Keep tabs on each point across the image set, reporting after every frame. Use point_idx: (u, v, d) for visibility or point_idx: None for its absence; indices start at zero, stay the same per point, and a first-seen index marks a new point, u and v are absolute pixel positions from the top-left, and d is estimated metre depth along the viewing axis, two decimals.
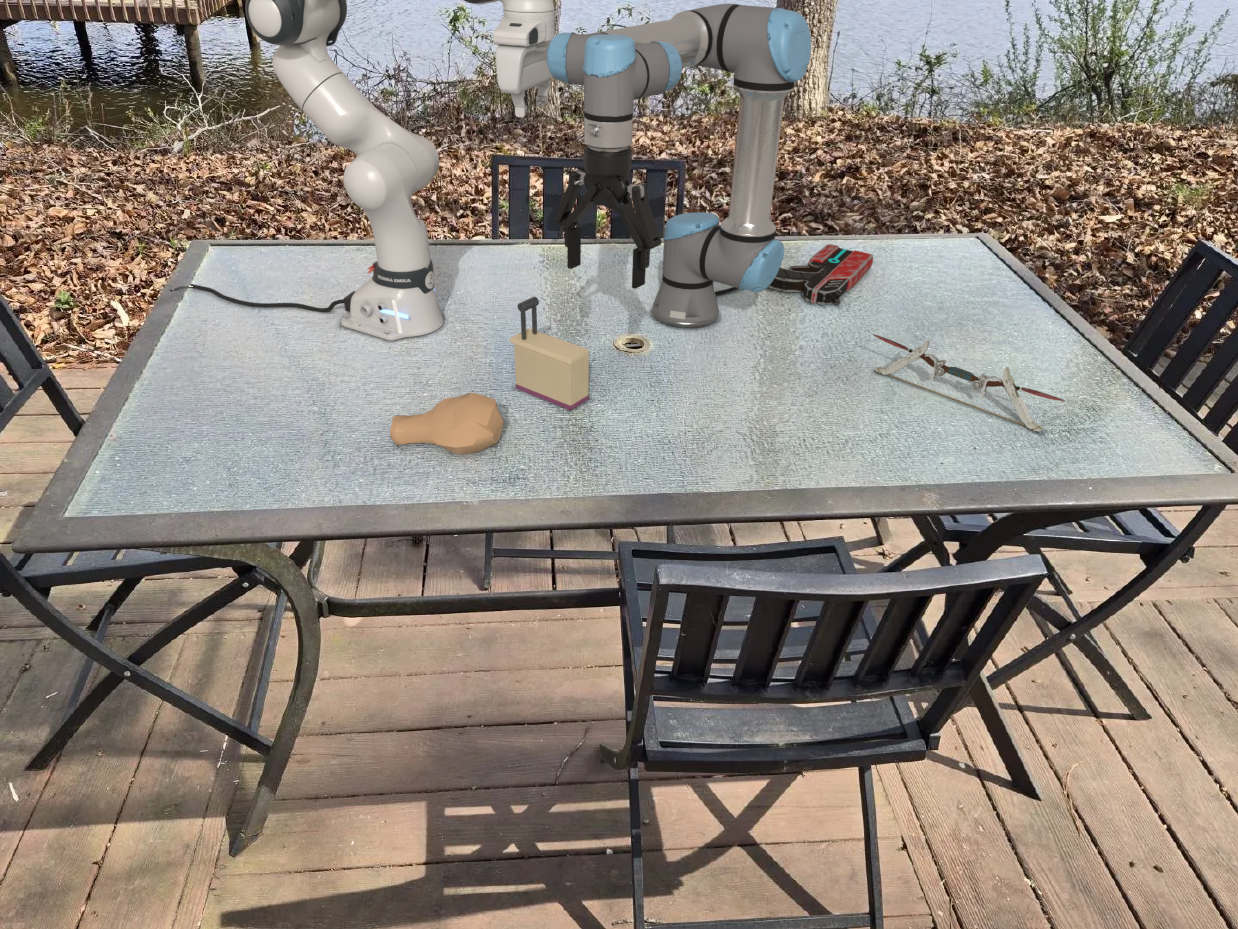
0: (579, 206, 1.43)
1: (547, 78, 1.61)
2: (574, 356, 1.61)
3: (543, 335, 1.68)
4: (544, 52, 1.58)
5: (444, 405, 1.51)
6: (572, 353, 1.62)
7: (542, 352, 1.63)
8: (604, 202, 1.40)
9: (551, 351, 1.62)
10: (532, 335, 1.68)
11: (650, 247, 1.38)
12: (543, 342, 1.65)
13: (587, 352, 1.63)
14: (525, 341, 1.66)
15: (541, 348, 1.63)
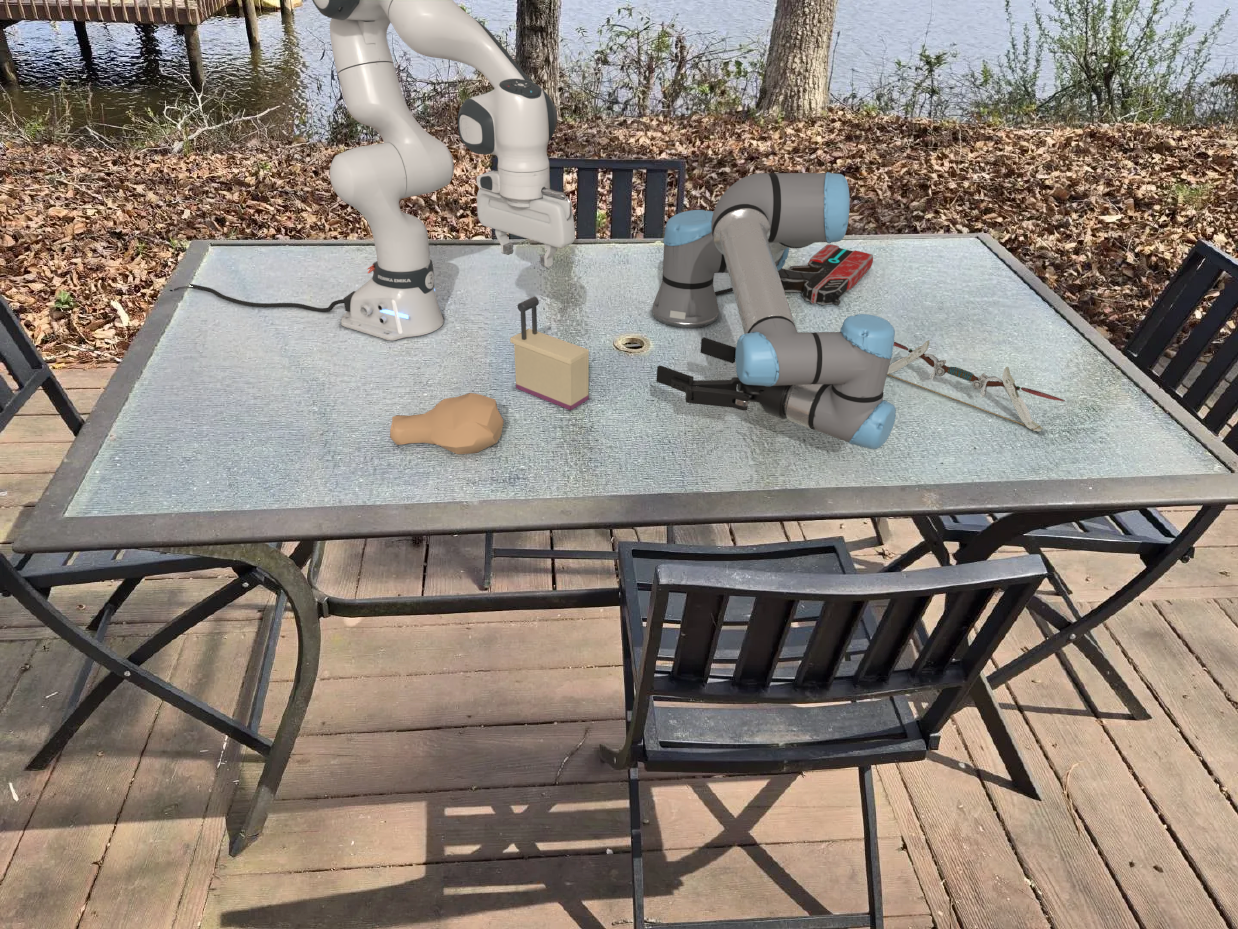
0: None
1: (533, 238, 1.53)
2: (574, 356, 1.61)
3: (543, 335, 1.68)
4: (531, 212, 1.51)
5: (444, 405, 1.51)
6: (572, 353, 1.62)
7: (542, 352, 1.63)
8: None
9: (551, 351, 1.62)
10: (532, 335, 1.68)
11: None
12: (543, 342, 1.65)
13: (587, 352, 1.63)
14: (525, 341, 1.66)
15: (541, 348, 1.63)
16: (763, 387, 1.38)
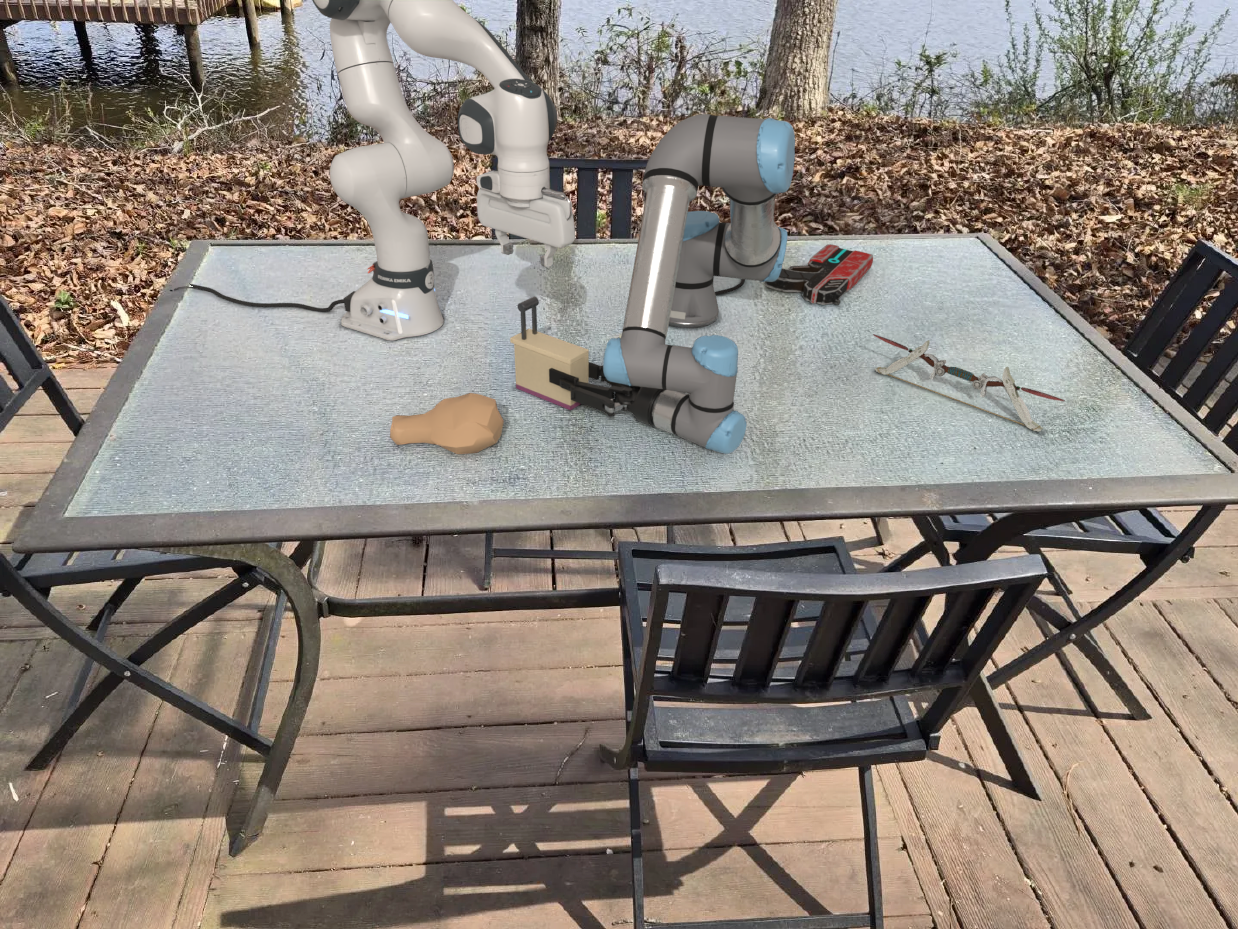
0: None
1: (533, 238, 1.53)
2: (574, 356, 1.61)
3: (543, 335, 1.68)
4: (531, 212, 1.51)
5: (444, 405, 1.51)
6: (572, 353, 1.62)
7: (542, 352, 1.63)
8: None
9: (551, 351, 1.62)
10: (532, 335, 1.68)
11: None
12: (543, 342, 1.65)
13: (587, 352, 1.63)
14: (525, 341, 1.66)
15: (541, 348, 1.63)
16: (635, 398, 1.55)
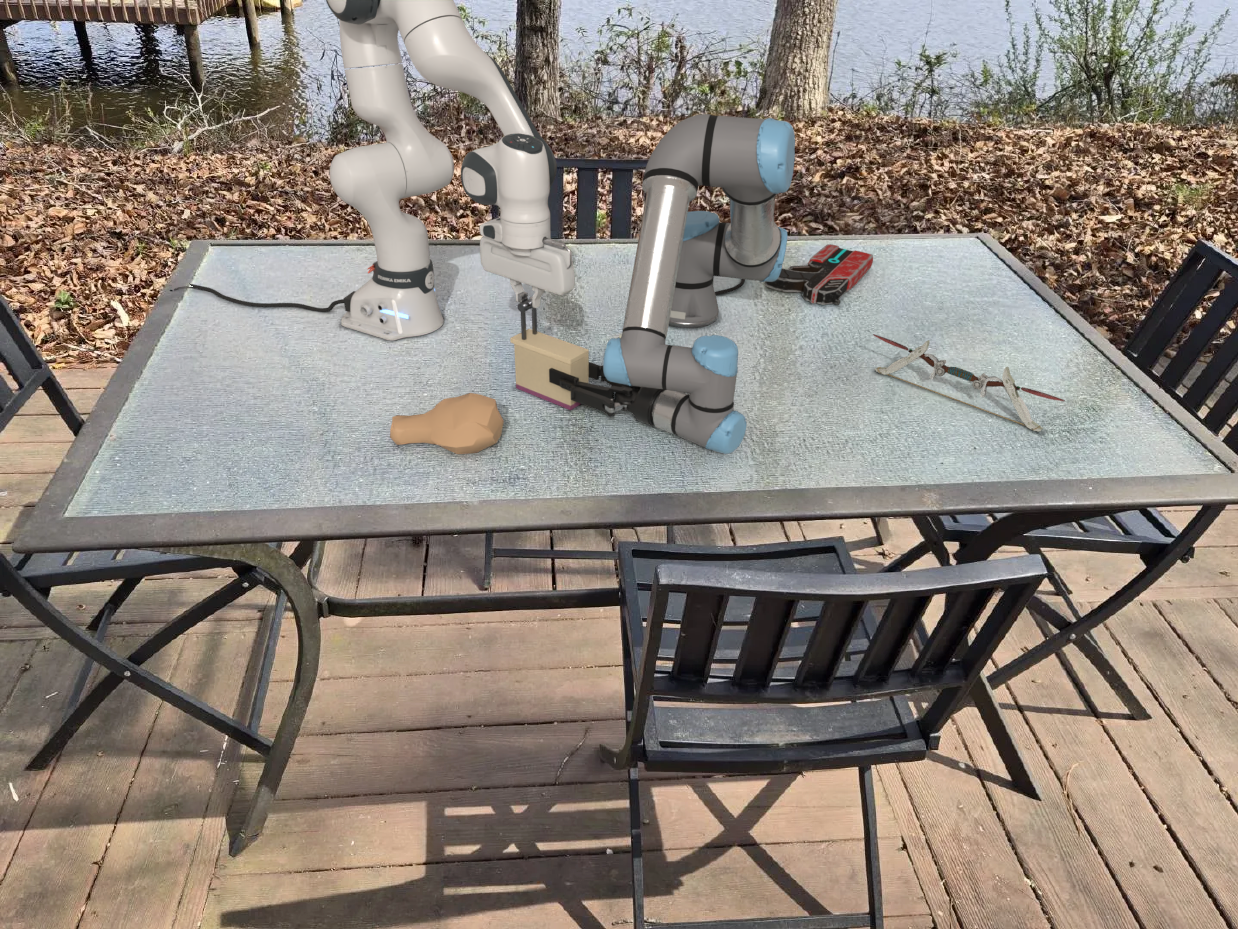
0: None
1: (535, 285, 1.58)
2: (574, 356, 1.61)
3: (543, 335, 1.68)
4: (533, 260, 1.56)
5: (444, 405, 1.51)
6: (572, 353, 1.62)
7: (542, 352, 1.63)
8: None
9: (551, 351, 1.62)
10: (532, 335, 1.68)
11: None
12: (543, 342, 1.65)
13: (587, 352, 1.63)
14: (525, 341, 1.66)
15: (541, 348, 1.63)
16: (635, 398, 1.55)
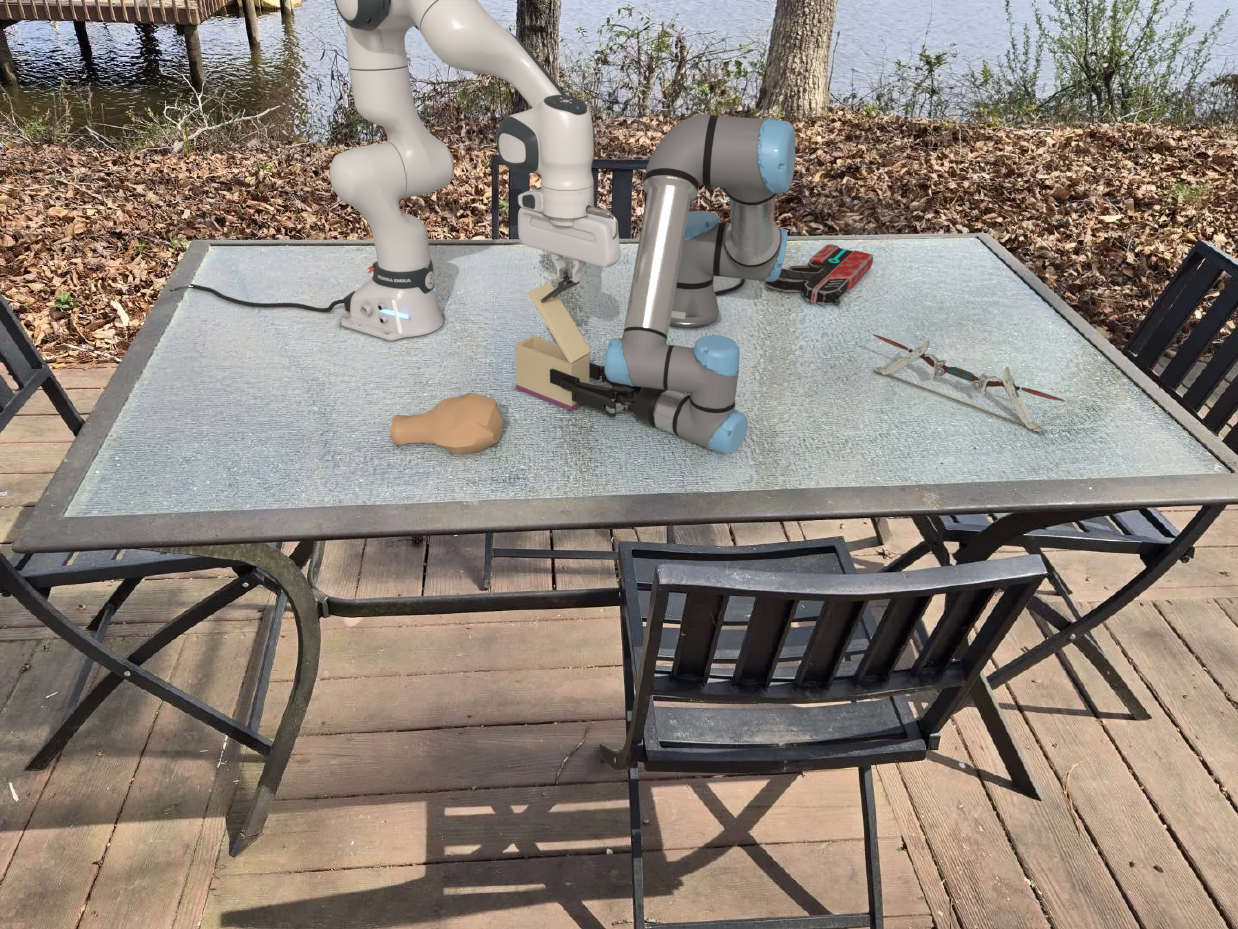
0: None
1: (577, 258, 1.49)
2: (577, 357, 1.61)
3: (559, 303, 1.62)
4: (575, 231, 1.47)
5: (444, 405, 1.51)
6: (576, 352, 1.61)
7: (552, 331, 1.59)
8: None
9: (560, 337, 1.59)
10: (550, 298, 1.60)
11: None
12: (557, 317, 1.60)
13: None
14: (542, 306, 1.59)
15: (553, 327, 1.59)
16: (636, 398, 1.55)
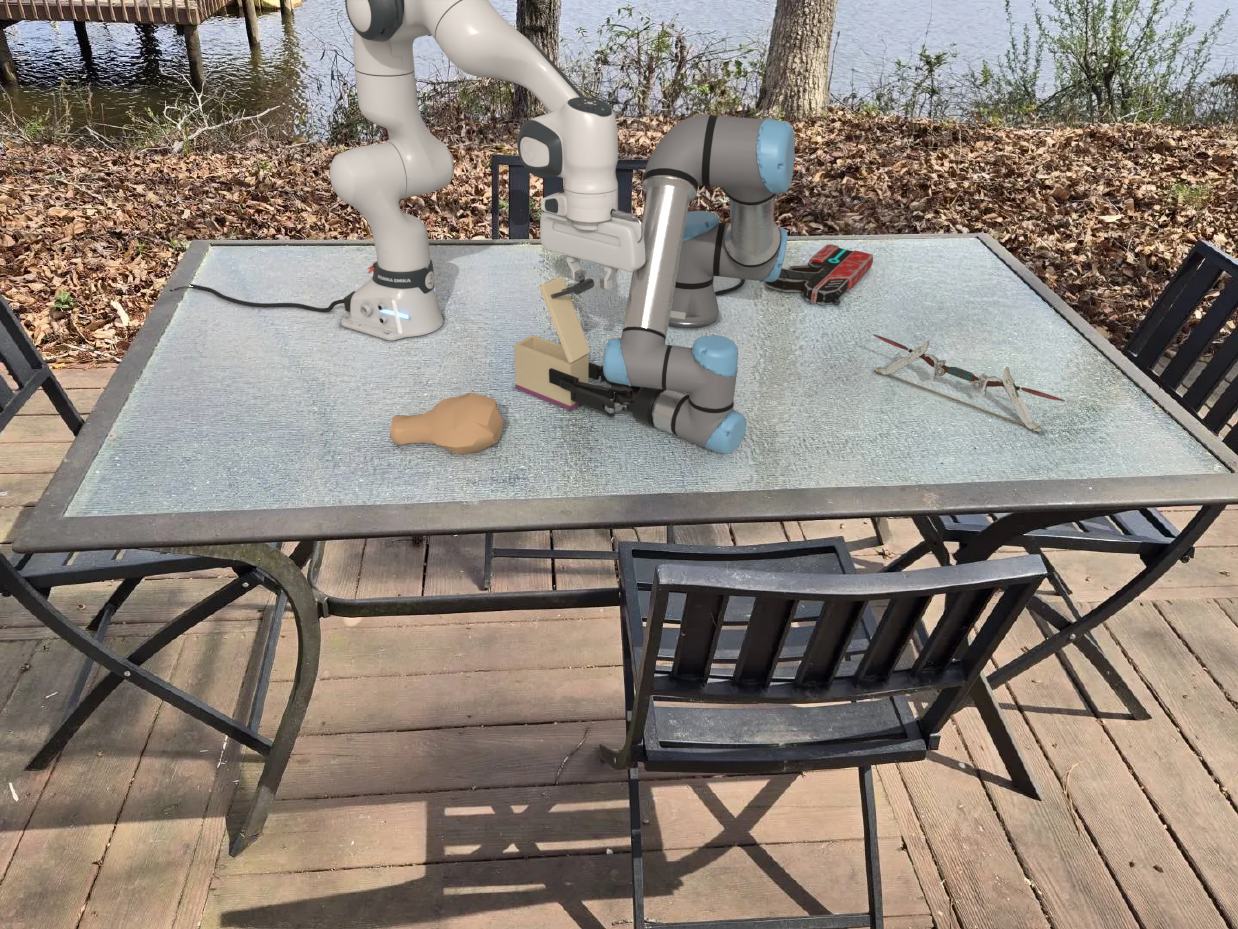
0: None
1: (601, 262, 1.46)
2: (577, 357, 1.61)
3: (568, 299, 1.60)
4: (599, 235, 1.45)
5: (444, 405, 1.51)
6: (577, 351, 1.61)
7: (556, 328, 1.58)
8: None
9: (564, 336, 1.59)
10: None
11: None
12: (564, 313, 1.59)
13: (587, 352, 1.63)
14: (551, 301, 1.57)
15: (559, 324, 1.58)
16: (635, 398, 1.55)
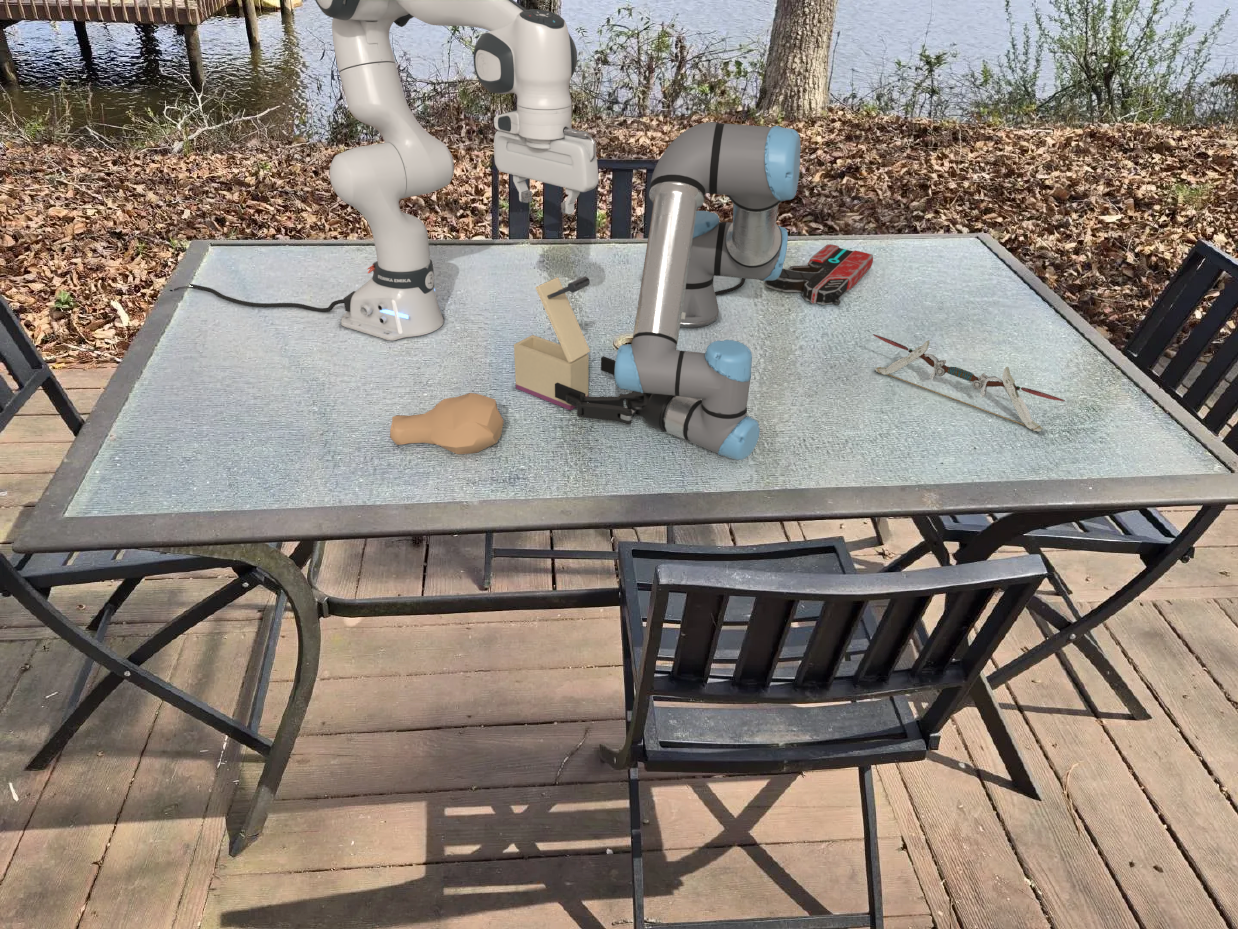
0: None
1: (554, 182, 1.45)
2: (576, 357, 1.61)
3: (565, 300, 1.60)
4: (552, 154, 1.43)
5: (444, 405, 1.51)
6: (576, 351, 1.61)
7: (555, 328, 1.58)
8: None
9: (562, 336, 1.59)
10: None
11: None
12: (561, 314, 1.59)
13: (587, 352, 1.63)
14: (548, 302, 1.57)
15: (556, 324, 1.58)
16: (646, 403, 1.53)
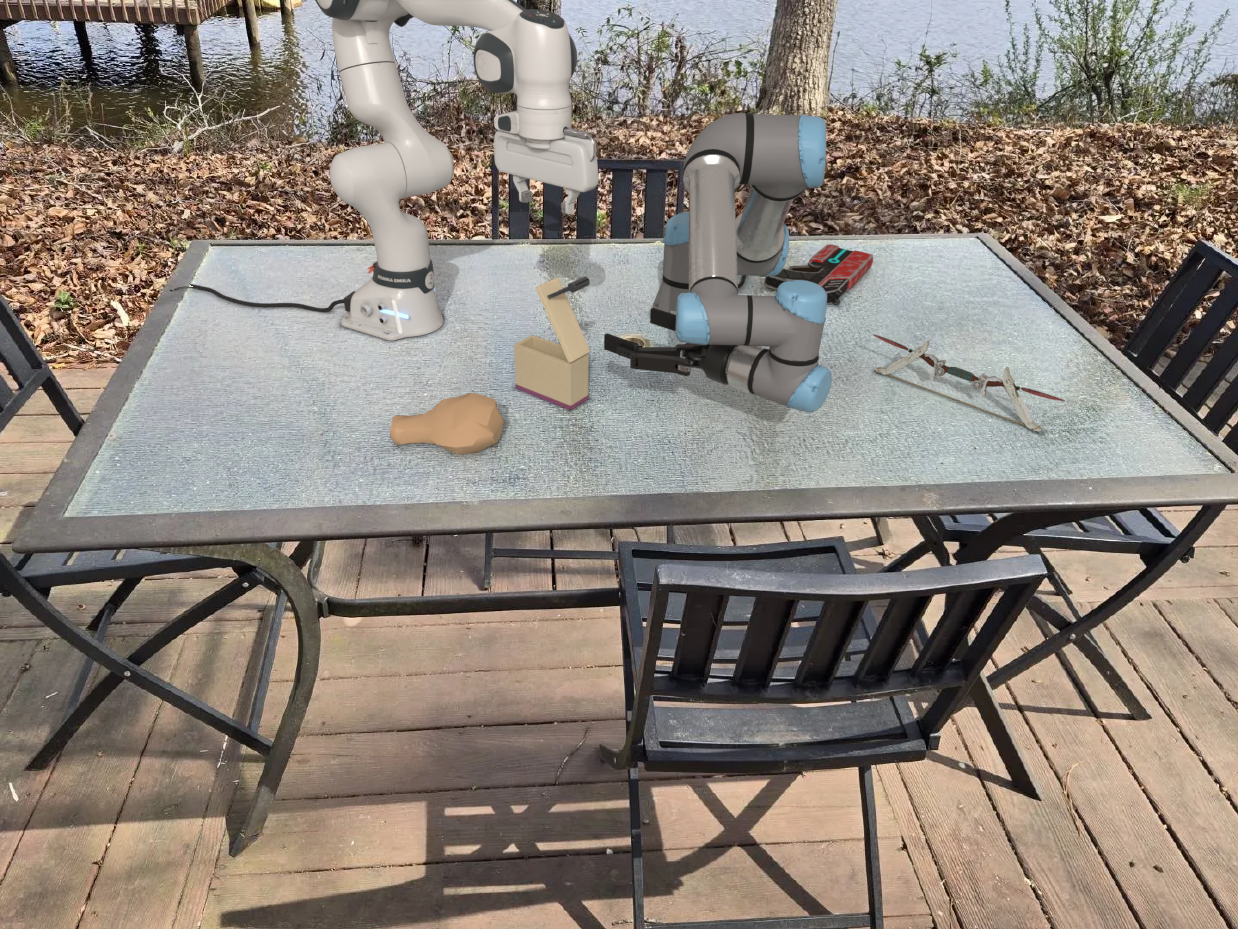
0: None
1: (554, 182, 1.45)
2: (576, 357, 1.61)
3: (565, 300, 1.60)
4: (552, 154, 1.43)
5: (444, 405, 1.51)
6: (576, 351, 1.61)
7: (555, 328, 1.58)
8: None
9: (562, 336, 1.59)
10: None
11: None
12: (561, 314, 1.59)
13: (587, 352, 1.63)
14: (548, 302, 1.57)
15: (556, 324, 1.58)
16: (705, 353, 1.42)
